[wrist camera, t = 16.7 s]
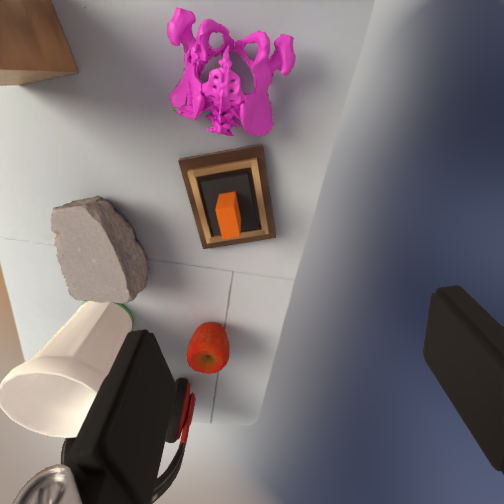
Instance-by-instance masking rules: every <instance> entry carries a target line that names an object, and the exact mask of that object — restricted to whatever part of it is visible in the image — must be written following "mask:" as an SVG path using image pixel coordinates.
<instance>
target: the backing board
mask: <svg viewBox="0 0 504 504" xmlns="http://www.w3.org/2000/svg"><path fill="white" fill-rule="evenodd" d="M179 165H180V168H181V172H182V175H183V179H184V182H185V186H186V189H187V193H188V196H189V200H190V204H191V207H192V211H193V214H194V218H195V221H196V225H197V228H198V232H199V235H200V239H201V242H202V246H203V249H207V248H213V247H220V246H226V245H232V244H239V243H245V242H251V241H258V240H264V239H270V238H276V232H275V226H274V219H273V212H272V205H271V198H270V191H269V185H268V178H267V171H266V164H265V157H264V151H263V145H262V144H258V145H253V146H247V147H241V148H236V149H230V150H225V151H219V152H214V153H208V154H203V155H197V156H191V157H186V158H181V159H180V160H179ZM247 171H248V174H249V180H250V185H251V191H252V197H253V202H254V208H255V214H256V219H257V227H258V228H257V229H252V230H246V231H241V233H240V237H236V238H230V239H222V235H214V232H213V228H212V224H211V221H210V217H209V213H208V209H207V205H206V201H205V197H204V193H203V189H202V185H201V182H202V179H206V178H212V177H218V176H224V175H229V174H235V173H241V172H247Z"/></svg>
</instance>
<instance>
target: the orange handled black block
mask: <svg viewBox="0 0 504 504" xmlns="http://www.w3.org/2000/svg"><path fill="white" fill-rule="evenodd" d="M201 185H202V189H203V193H204V197H205V201H206V205H207V209H208V213H209V217H210V221H211V224H212V228H213V232H214V235H222V239H230V238H236V237H240V233H241V231H246V230H252V229H257V228H258V227H257V219H256V214H255V208H254V202H253V197H252V191H251V185H250V180H249V174H248V171H247V172H241V173H235V174H229V175H224V176H218V177H212V178H206V179H202V182H201Z"/></svg>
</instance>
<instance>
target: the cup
mask: <svg viewBox="0 0 504 504" xmlns="http://www.w3.org/2000/svg"><path fill="white" fill-rule="evenodd" d="M132 327H133V318H132V316H131V314H130V312H129V310H128V309H127V308H125V307H124V306H123V305H122V304H120V303H115V302H104V303H98V302H93V301H86V302H85V303H83V304H82V306H81V307H80V308H79V309H78V311H77V312H76V313H75V314H74V315H73V316H72V317H71V318H70V319H69V320H68V321H67V322H66V324H65V325H64V326H63V327H62V328H61V329H60V330H59V331H58V332H57V333H56V334H55V335H54V336H53V337H52V338H51V339H50V340H49V341H48V342H47V343H46V344H45V346H44V347H43V348H42V349H41V350H40V351H39V352H38V353H37V354H36V355H35V356H34V357H33V358H32V359H30V360H28V361H25V362H24V363H22V364H21V365H19V366H17V367H15V368H14V369H12V370H11V372H10V373H9V374H8V375H7V376H6V377H5V378H4V379H3V381H2V382H1V384H0V408H1V409H2V410H3V411H4V412H5V413H6V414H7V415H8V417H9V418H10V419H11V420H13V421H14V422H16V423H18V424H20V425H21V426H23V427H25V428H26V429H28V430H31V431H34V432H38V433H40V434H43V435H47V436H53V437H63V438H73V437H77V434H78V432H79V430H80V428H81V426H82V424H83V422H84V420H85V418H86V416H87V413H88V411H89V409H90V407H91V405H92V403H93V401H94V399H95V397H96V395H97V393H98V390H99V388H100V386H101V384H102V382H103V380H104V379H105V377H106V376H107V375H108V374H109V371H110V369H111V367H112V365H113V363H114V361H115V359H116V356H117V354H118V352H119V350H120V348H121V346H122V344H123V342H124V339H125V337H126V335H127V334H128V332H130V331H131V330H132Z"/></svg>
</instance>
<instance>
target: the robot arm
mask: <svg viewBox="0 0 504 504" xmlns="http://www.w3.org/2000/svg"><path fill="white" fill-rule="evenodd" d="M423 353H424V358H425V361H426V363H427V364H428V366H429V367H430V369H431V371H432V372H433V374H434V375H435V377H436V378H437V380H438V382H439V383H440V385H441V386H442V388H443V389H444V391H445V393H446V394H447V396H448V397H449V399H450V400H451V402H452V404H453V405H454V407H455V408H456V410H457V412H458V413H459V415H460V416H461V418H462V419H463V421H464V423H465V424H466V426H467V427H468V429H469V430H470V432H471V434H472V435H473V437H474V438H475V440H476V441H477V443H478V444H479V446H480V448H481V449H482V451H483V452H484V454H485V456H486V457H487V459H488V460H489V462H490V463H491V465H492V466H493V467H494V468H495V469H496V470H497V471H502V473H503V474H504V327H503V326H501V325H500V324H499V323H498V322H497V321H496V320H495V319H494V318H493V317H492V316H491V315H490V314H489V313H487V312H486V311H485V310H484V309H483V308H482V307H481V306H480V305H479V304H478V303H477V302H476V301H475V300H474V299H473V298H472V297H471V296H470V295H469V294H468V293H467V292H466V291H465V290H464V289H463V288H461V287H460V286H457V285H455V286H448V287H441V288H438V289H437V290H436V293H433V294H432V295H431V301H430V307H429V314H428V321H427V329H426V336H425V342H424V349H423ZM175 396H176V384H175V381H174V379H173V377H172V374H171V372H170V370H169V367H168V365H167V363H166V361H165V358H164V356H163V354H162V352H161V349H160V347H159V345H158V342H157V340H156V338H155V336H154V334H153V333H149V332H148V330H146V329H144V330H137V331H130V332H128V334H127V335H126V337H125V339H124V342H123V344H122V346H121V348H120V350H119V352H118V354H117V356H116V359H115V361H114V363H113V365H112V367H111V369H110V371H109V374H108V375H107V376H106V377H105V379H104V380H103V382H102V384H101V386H100V388H99V390H98V393H97V395H96V397H95V399H94V401H93V403H92V405H91V407H90V409H89V411H88V413H87V416H86V418H85V420H84V422H83V424H82V426H81V428H80V430H79V432H78V434H77V437H76V439H75V441H74V443H73V445H72V447H71V449H70V451H69V453H68V455H67V458H66V460H65V462H64V464H62V465H53V466H50V467H47V468H45V469H44V470H42V471H40V472H39V473H37V474H36V475H35V476H34V477H32V478H31V479H30V480H29V481H28V482H27V483H26V484H25V485H24V487H23V488H22V489H21V490H20V491H19V493H18V495H17V496H16V498H15V499H14V501H13V503H12V504H150V503H151V501H152V498H153V493H154V489H155V484H156V480H157V475H158V471H159V467H160V462H161V457H162V453H163V449H164V444H165V440H166V436H167V431H168V427H169V422H170V418H171V413H172V409H173V404H174V400H175Z"/></svg>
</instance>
